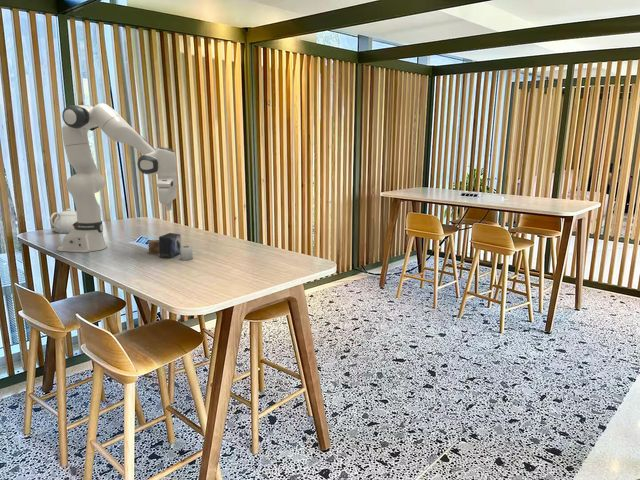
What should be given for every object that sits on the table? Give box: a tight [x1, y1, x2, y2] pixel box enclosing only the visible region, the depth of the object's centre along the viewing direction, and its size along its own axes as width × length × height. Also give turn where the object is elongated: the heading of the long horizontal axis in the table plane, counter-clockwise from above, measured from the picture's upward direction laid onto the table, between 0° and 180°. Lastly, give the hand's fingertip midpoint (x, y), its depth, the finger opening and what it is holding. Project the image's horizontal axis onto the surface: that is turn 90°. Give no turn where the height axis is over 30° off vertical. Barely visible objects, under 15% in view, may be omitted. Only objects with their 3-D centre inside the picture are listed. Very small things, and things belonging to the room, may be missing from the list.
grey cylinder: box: [179, 245, 193, 261], centre depth 223 cm, size 6×6×6 cm
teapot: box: [49, 208, 77, 234], centre depth 275 cm, size 19×18×14 cm
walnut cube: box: [147, 239, 159, 255], centre depth 233 cm, size 6×6×6 cm
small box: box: [158, 232, 182, 259], centre depth 228 cm, size 11×6×10 cm, turn 168°
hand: (168, 210), depth 224 cm, fingers closed
